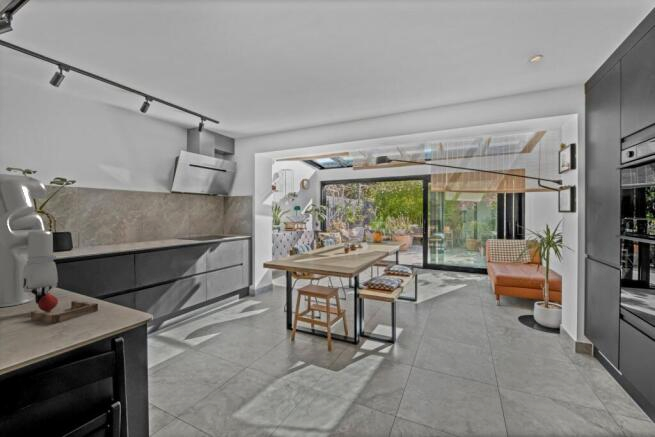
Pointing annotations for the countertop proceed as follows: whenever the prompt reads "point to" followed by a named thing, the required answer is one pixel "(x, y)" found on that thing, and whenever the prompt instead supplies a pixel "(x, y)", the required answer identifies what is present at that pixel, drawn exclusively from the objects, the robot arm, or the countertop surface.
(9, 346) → the countertop surface
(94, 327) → the countertop surface
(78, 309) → the corral
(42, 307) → the onion
